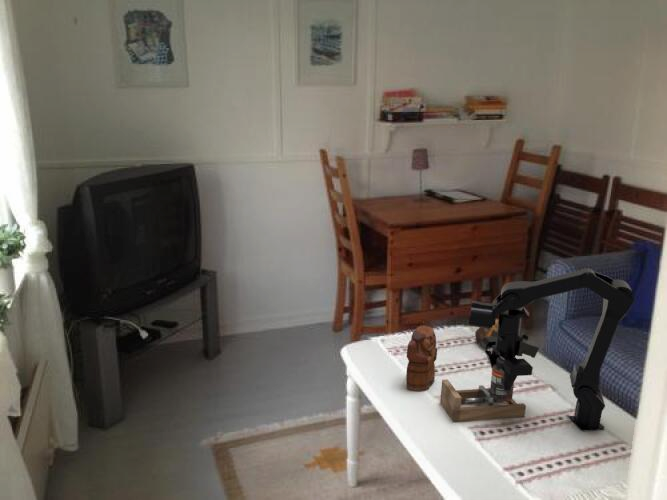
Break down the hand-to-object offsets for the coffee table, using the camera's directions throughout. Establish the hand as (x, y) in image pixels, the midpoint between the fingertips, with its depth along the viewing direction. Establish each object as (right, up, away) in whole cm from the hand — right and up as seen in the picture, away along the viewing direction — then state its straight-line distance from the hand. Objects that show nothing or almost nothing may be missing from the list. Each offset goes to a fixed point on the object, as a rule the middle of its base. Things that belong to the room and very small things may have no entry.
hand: (502, 384), depth 160 cm
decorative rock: (+7, +3, +41) cm, 41 cm away
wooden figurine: (-20, -3, +14) cm, 25 cm away
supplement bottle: (0, -4, +1) cm, 4 cm away
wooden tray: (-5, -7, +1) cm, 9 cm away
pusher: (-7, -7, +1) cm, 10 cm away
